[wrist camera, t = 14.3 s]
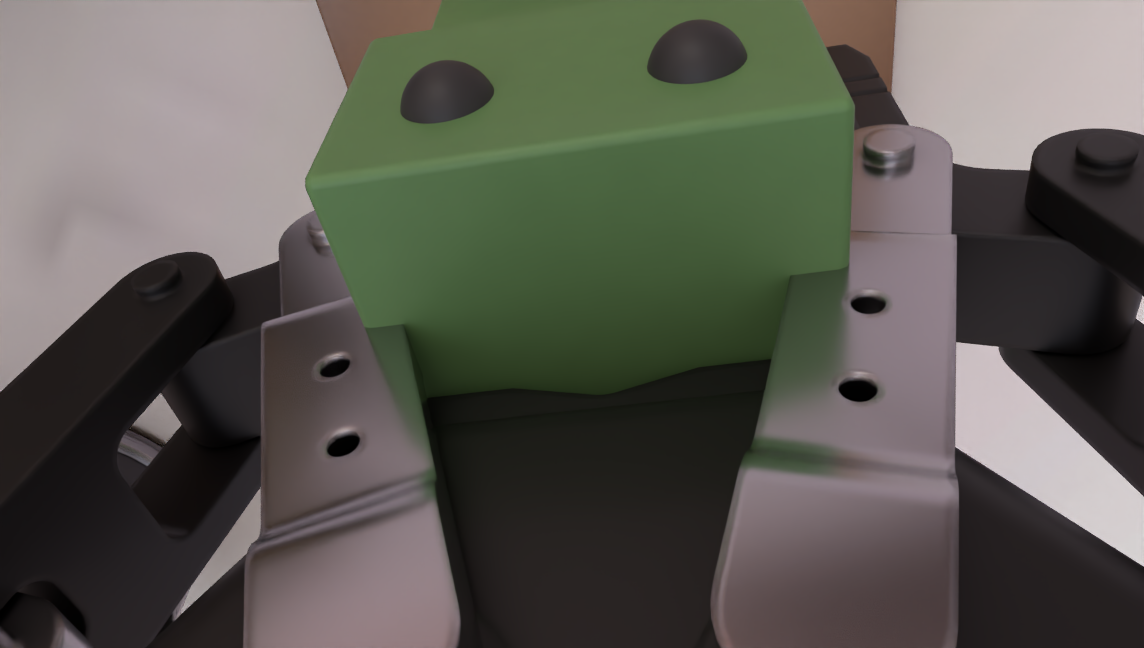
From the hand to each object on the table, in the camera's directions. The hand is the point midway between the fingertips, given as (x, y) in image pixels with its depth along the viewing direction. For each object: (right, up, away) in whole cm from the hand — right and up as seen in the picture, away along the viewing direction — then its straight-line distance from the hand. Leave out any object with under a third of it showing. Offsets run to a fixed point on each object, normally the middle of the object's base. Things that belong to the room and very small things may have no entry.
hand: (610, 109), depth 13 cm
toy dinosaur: (+1, -1, +5) cm, 5 cm away
